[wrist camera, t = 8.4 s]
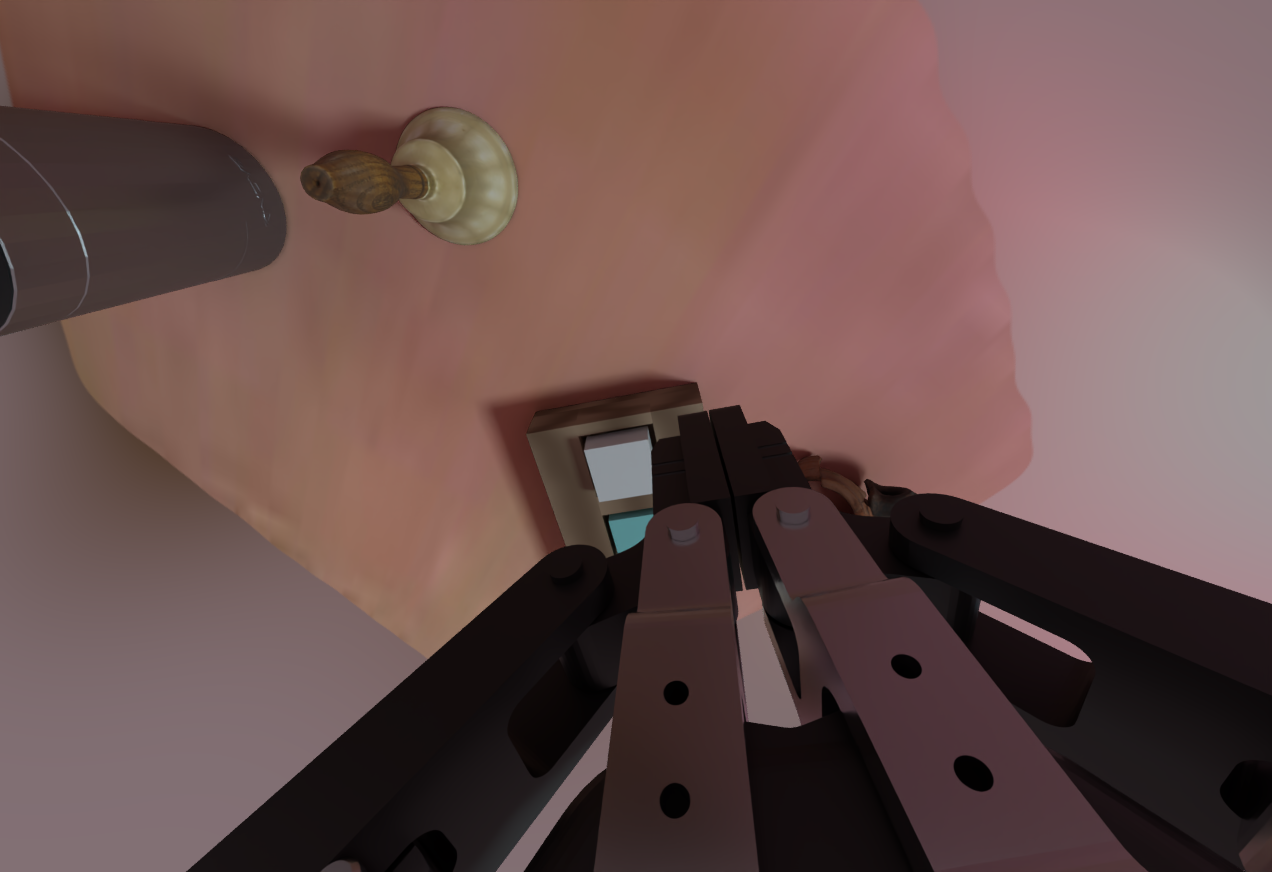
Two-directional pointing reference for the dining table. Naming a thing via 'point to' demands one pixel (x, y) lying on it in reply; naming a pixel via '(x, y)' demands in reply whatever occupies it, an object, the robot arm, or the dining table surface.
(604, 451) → the grey key
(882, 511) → the pottery mug
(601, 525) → the console
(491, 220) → the hand bell
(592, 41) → the dining table surface
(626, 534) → the teal key
